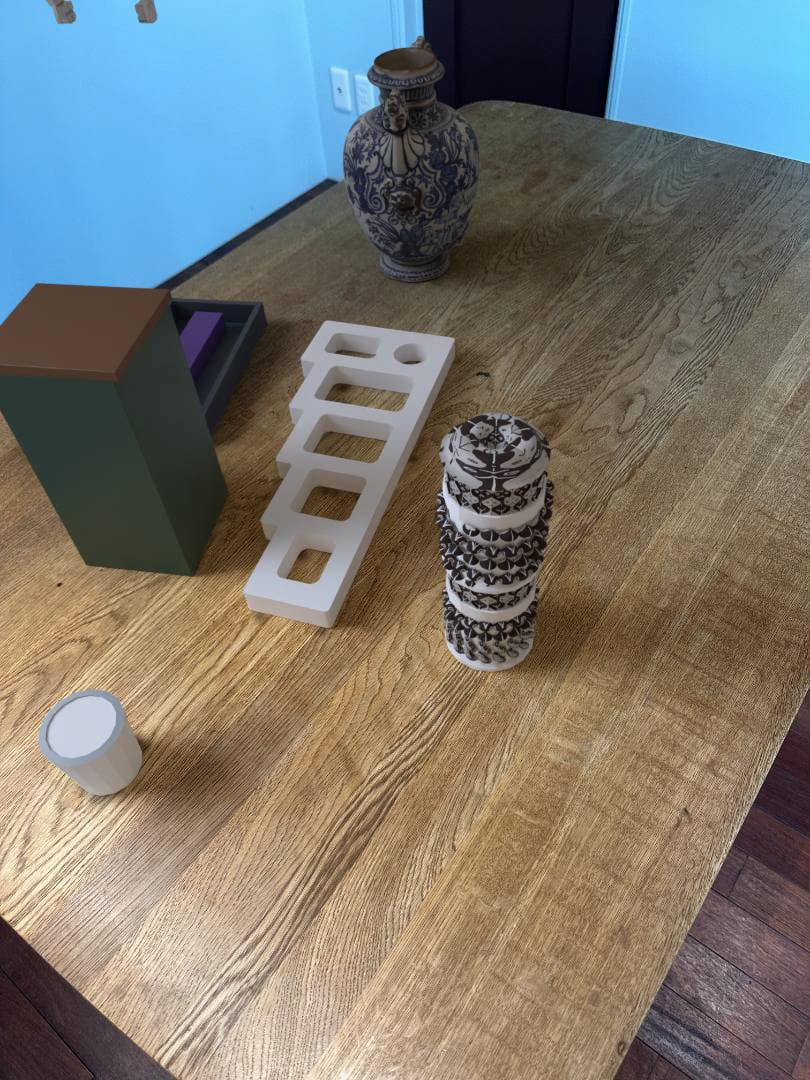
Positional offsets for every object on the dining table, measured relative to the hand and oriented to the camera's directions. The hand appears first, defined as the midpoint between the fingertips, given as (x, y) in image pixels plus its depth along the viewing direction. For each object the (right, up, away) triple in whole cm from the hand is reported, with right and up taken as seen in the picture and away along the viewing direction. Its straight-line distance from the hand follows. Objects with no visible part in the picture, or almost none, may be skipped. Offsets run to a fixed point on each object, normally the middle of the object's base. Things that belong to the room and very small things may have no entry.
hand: (107, 22), depth 87 cm
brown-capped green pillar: (+5, -55, +1) cm, 55 cm away
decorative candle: (+40, -65, -10) cm, 77 cm away
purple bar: (+3, -34, +19) cm, 39 cm away
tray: (+4, -35, +19) cm, 39 cm away
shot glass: (+6, -75, -17) cm, 77 cm away
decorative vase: (+34, -15, +34) cm, 50 cm away
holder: (+23, -46, +7) cm, 52 cm away
